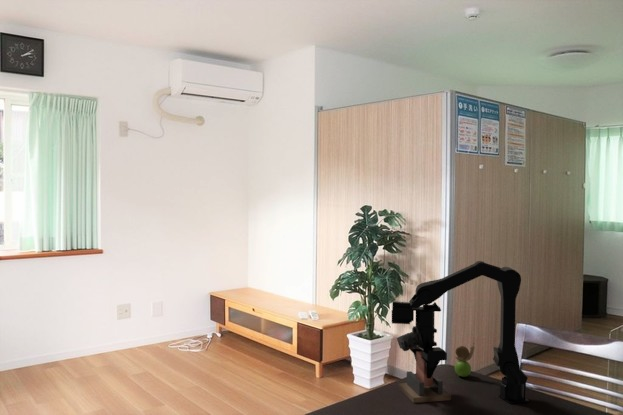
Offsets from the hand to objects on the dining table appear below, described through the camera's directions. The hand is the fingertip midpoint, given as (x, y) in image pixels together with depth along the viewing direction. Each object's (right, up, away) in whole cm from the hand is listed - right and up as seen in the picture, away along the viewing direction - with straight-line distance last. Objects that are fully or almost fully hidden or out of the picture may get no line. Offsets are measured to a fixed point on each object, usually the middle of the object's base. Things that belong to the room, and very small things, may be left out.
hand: (424, 374), depth 161 cm
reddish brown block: (0, -3, 0) cm, 2 cm away
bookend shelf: (0, -6, 0) cm, 6 cm away
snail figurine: (+17, -6, +16) cm, 24 cm away
